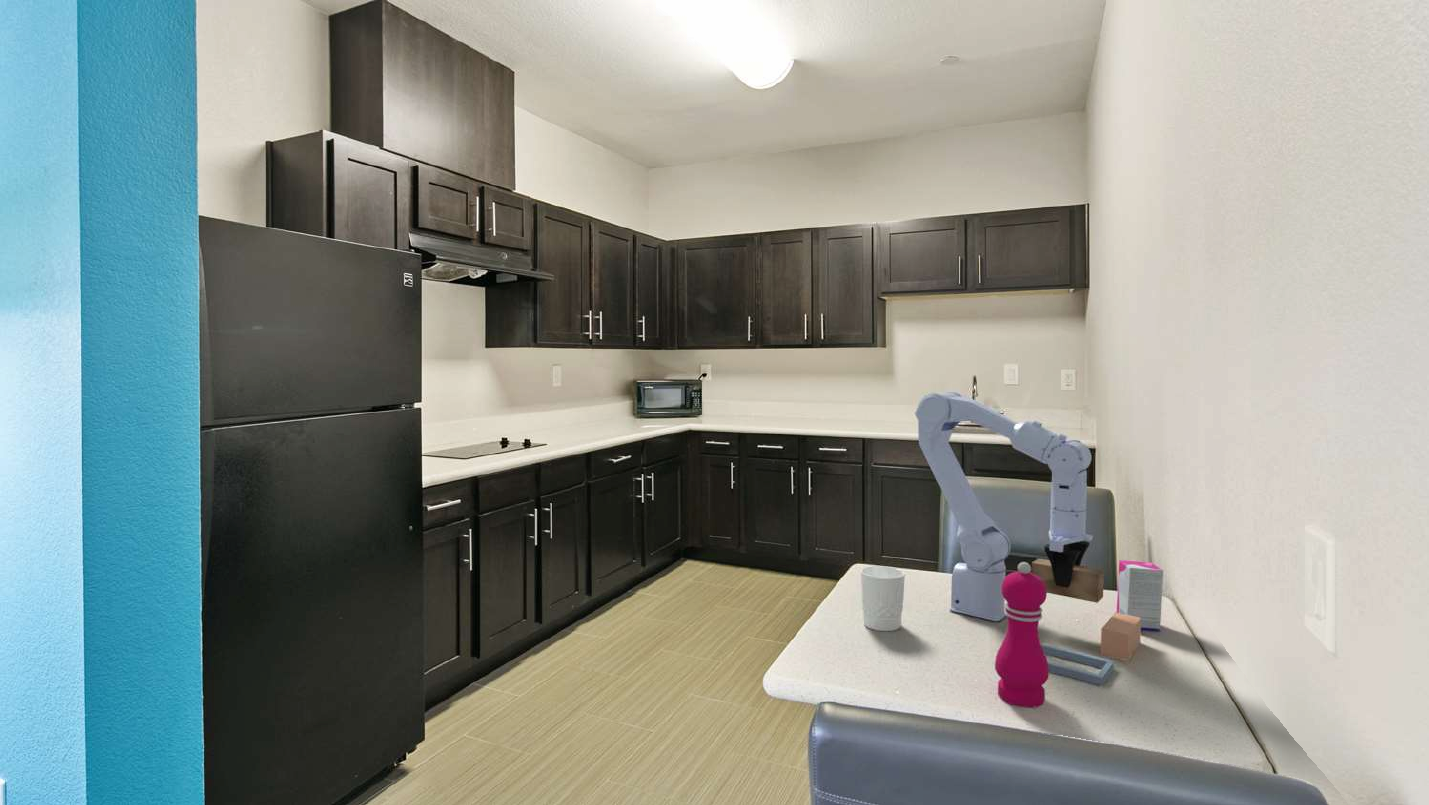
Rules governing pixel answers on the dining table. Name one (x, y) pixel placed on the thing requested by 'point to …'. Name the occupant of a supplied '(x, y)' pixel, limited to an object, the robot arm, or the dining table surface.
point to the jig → (1083, 658)
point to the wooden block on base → (1072, 581)
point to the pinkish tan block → (1120, 636)
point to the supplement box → (1140, 592)
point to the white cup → (882, 597)
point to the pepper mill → (1022, 641)
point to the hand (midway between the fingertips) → (1065, 583)
